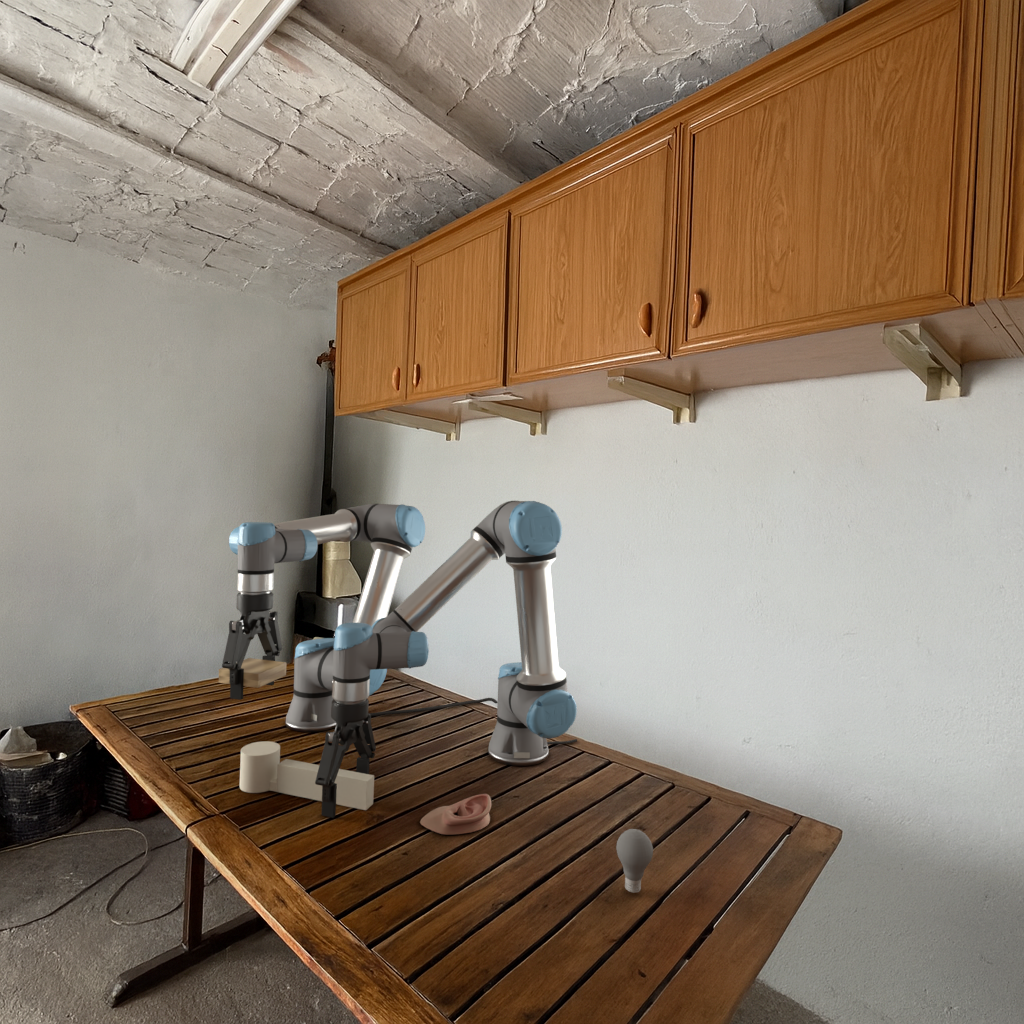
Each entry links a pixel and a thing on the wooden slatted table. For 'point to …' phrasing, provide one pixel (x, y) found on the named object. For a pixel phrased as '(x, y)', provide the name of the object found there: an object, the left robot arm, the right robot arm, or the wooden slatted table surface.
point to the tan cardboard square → (256, 672)
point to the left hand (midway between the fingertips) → (252, 691)
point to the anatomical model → (460, 816)
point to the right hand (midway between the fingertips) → (345, 801)
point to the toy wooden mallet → (299, 777)
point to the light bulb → (634, 857)
